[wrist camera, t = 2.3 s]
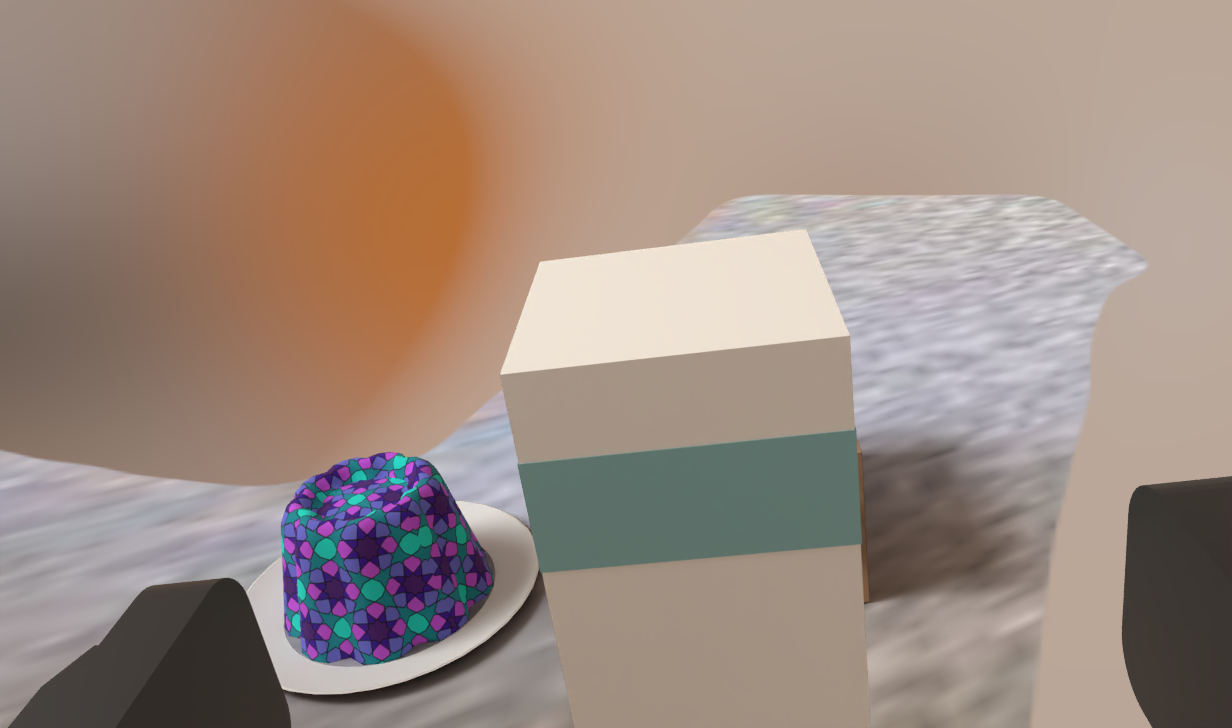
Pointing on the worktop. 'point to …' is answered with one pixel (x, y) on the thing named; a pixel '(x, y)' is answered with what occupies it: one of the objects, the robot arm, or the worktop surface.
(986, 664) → the worktop surface
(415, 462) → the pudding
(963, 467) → the worktop surface
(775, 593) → the milk carton
